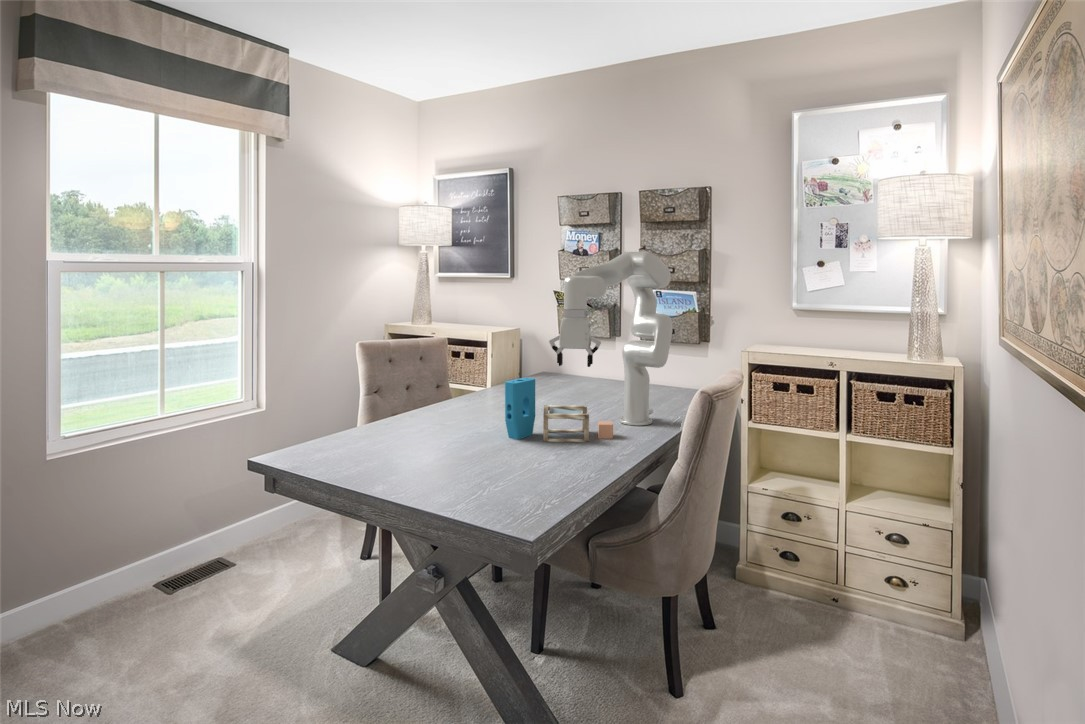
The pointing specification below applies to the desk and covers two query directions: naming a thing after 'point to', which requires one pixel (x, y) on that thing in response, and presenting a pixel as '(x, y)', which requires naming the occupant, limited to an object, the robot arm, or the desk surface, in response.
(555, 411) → the trapdoor plate
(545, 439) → the frame
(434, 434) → the desk surface
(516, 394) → the block
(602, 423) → the terracotta block
